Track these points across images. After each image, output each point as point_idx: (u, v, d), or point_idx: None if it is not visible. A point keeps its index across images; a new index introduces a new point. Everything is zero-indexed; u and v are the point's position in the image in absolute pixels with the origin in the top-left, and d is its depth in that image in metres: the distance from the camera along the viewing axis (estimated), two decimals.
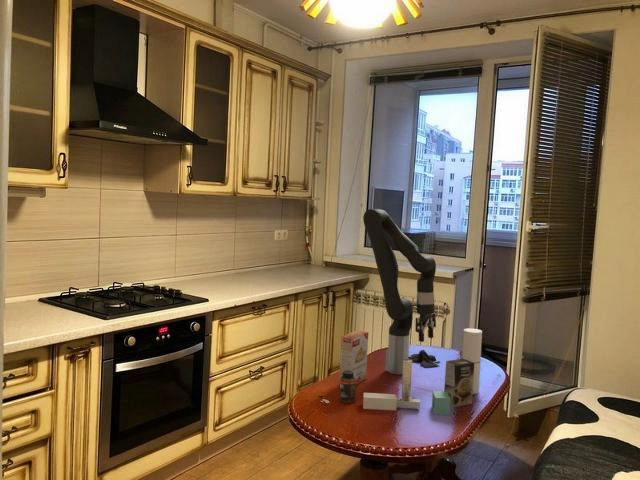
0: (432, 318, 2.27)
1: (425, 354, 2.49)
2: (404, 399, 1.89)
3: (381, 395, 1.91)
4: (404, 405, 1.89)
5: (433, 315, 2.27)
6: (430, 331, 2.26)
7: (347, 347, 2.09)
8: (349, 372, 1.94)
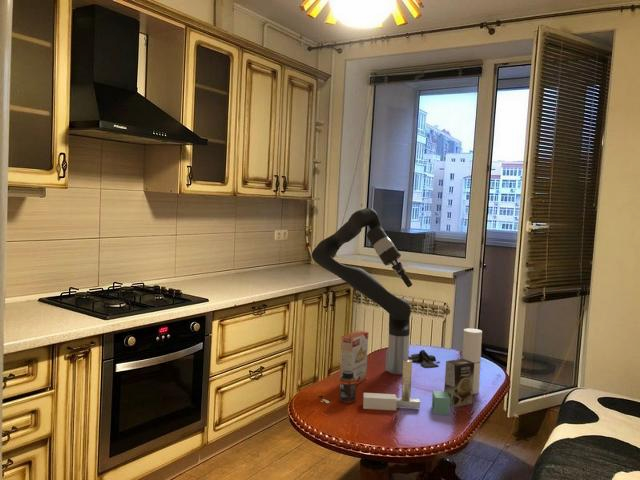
0: None
1: (425, 354, 2.49)
2: (404, 399, 1.89)
3: (381, 395, 1.91)
4: (404, 405, 1.89)
5: None
6: None
7: (347, 347, 2.09)
8: (349, 372, 1.94)
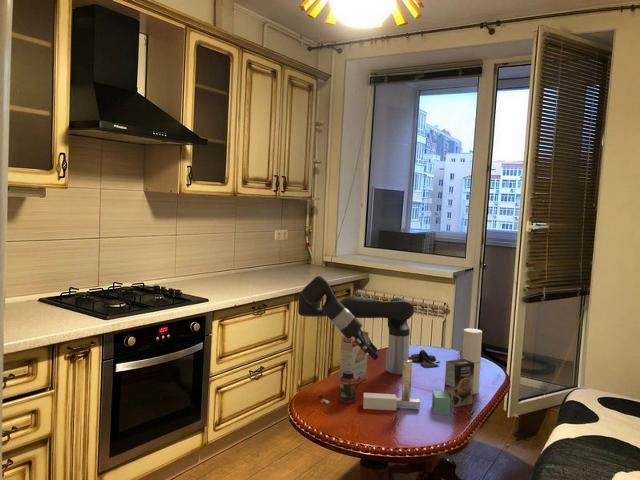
0: None
1: (425, 354, 2.49)
2: (404, 399, 1.89)
3: (381, 395, 1.91)
4: (404, 405, 1.89)
5: (359, 330, 1.95)
6: (370, 346, 1.93)
7: (347, 347, 2.09)
8: (349, 372, 1.94)
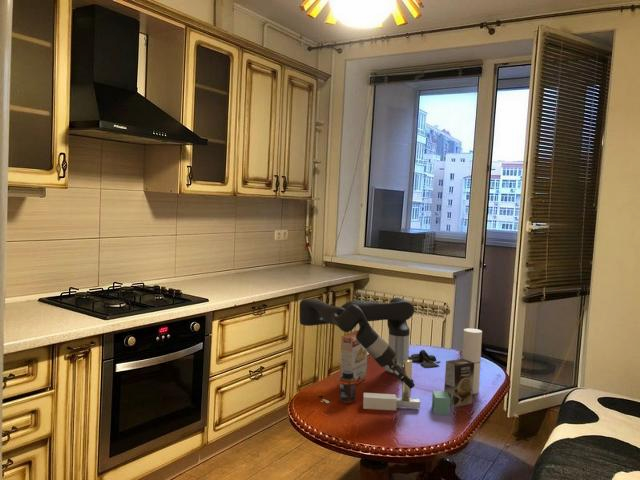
0: None
1: (425, 354, 2.49)
2: (404, 399, 1.89)
3: (381, 395, 1.91)
4: (404, 405, 1.89)
5: (395, 360, 1.95)
6: None
7: (347, 347, 2.09)
8: (349, 372, 1.94)
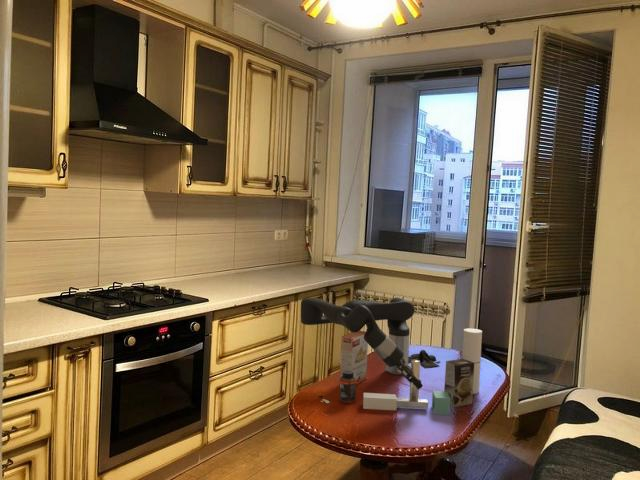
0: None
1: (425, 354, 2.49)
2: (412, 399, 1.88)
3: (381, 395, 1.91)
4: (412, 406, 1.88)
5: (402, 360, 1.95)
6: None
7: (347, 347, 2.09)
8: (349, 372, 1.94)
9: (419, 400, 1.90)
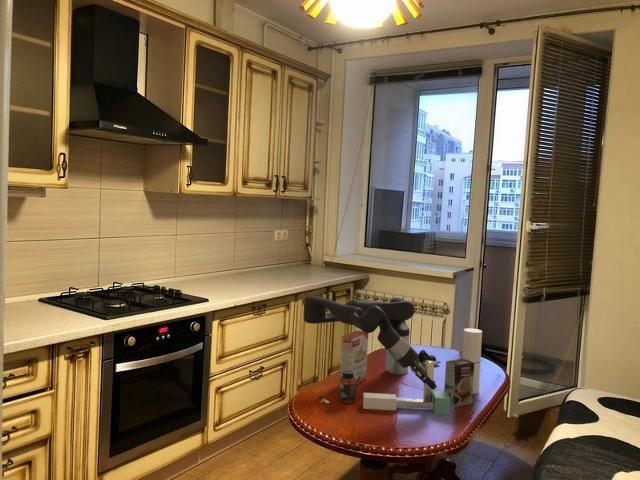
0: None
1: (425, 354, 2.49)
2: (426, 400, 1.88)
3: (381, 395, 1.91)
4: (426, 407, 1.88)
5: (416, 361, 1.94)
6: None
7: (347, 347, 2.09)
8: (349, 372, 1.94)
9: (433, 401, 1.89)
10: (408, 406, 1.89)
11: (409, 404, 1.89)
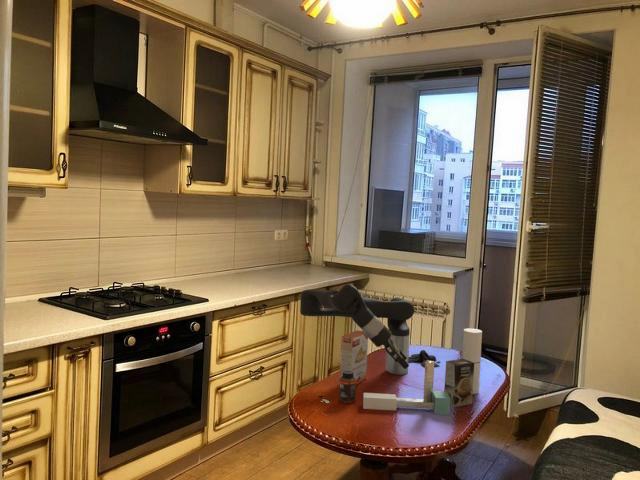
0: None
1: (426, 354, 2.49)
2: (426, 400, 1.88)
3: (381, 395, 1.91)
4: (426, 407, 1.88)
5: (388, 338, 1.94)
6: (400, 354, 1.92)
7: (347, 347, 2.09)
8: (349, 372, 1.94)
9: (433, 401, 1.89)
10: (408, 406, 1.89)
11: (409, 404, 1.88)
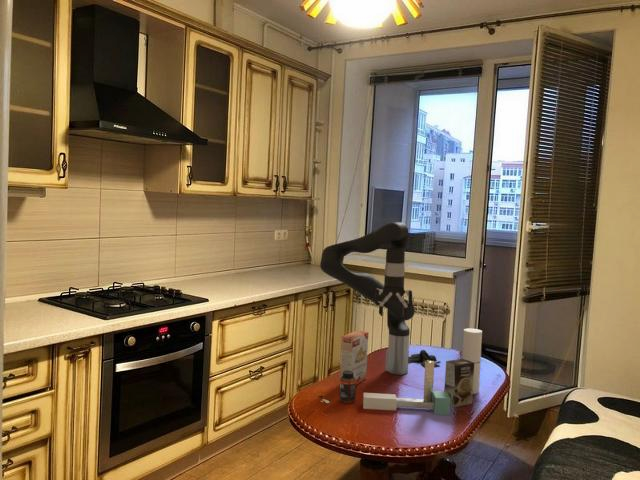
0: None
1: (426, 354, 2.49)
2: (426, 400, 1.88)
3: (381, 395, 1.91)
4: (426, 407, 1.88)
5: None
6: (382, 308, 1.98)
7: (347, 347, 2.09)
8: (349, 372, 1.94)
9: (433, 401, 1.89)
10: (408, 406, 1.89)
11: (409, 404, 1.88)
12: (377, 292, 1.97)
